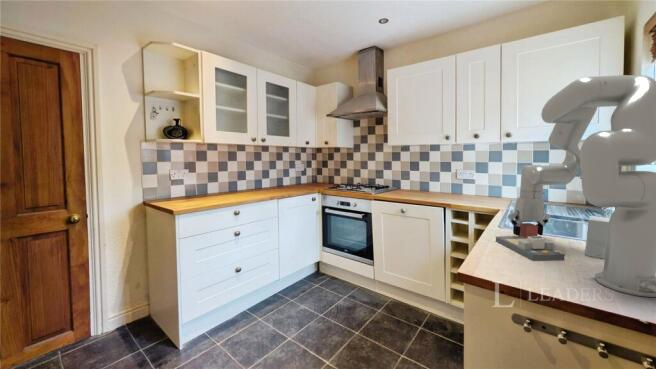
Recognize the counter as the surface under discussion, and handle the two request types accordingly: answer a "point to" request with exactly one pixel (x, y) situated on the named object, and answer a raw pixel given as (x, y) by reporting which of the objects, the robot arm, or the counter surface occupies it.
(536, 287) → the counter surface
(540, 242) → the breaker switch
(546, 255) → the breaker panel
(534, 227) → the red block
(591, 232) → the small box
